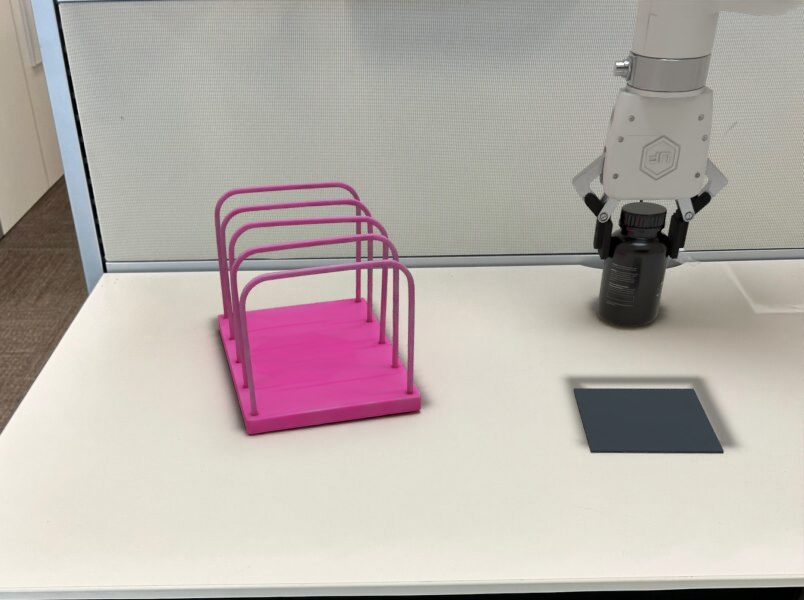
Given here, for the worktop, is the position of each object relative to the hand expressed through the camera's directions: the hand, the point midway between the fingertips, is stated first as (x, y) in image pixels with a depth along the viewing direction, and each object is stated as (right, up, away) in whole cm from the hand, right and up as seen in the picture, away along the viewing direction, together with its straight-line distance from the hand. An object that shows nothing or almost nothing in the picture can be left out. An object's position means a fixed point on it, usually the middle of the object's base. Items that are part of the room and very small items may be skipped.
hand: (636, 253), depth 102 cm
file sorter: (-36, -13, -3) cm, 38 cm away
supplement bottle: (0, -6, +5) cm, 7 cm away
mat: (-3, -21, -13) cm, 25 cm away
